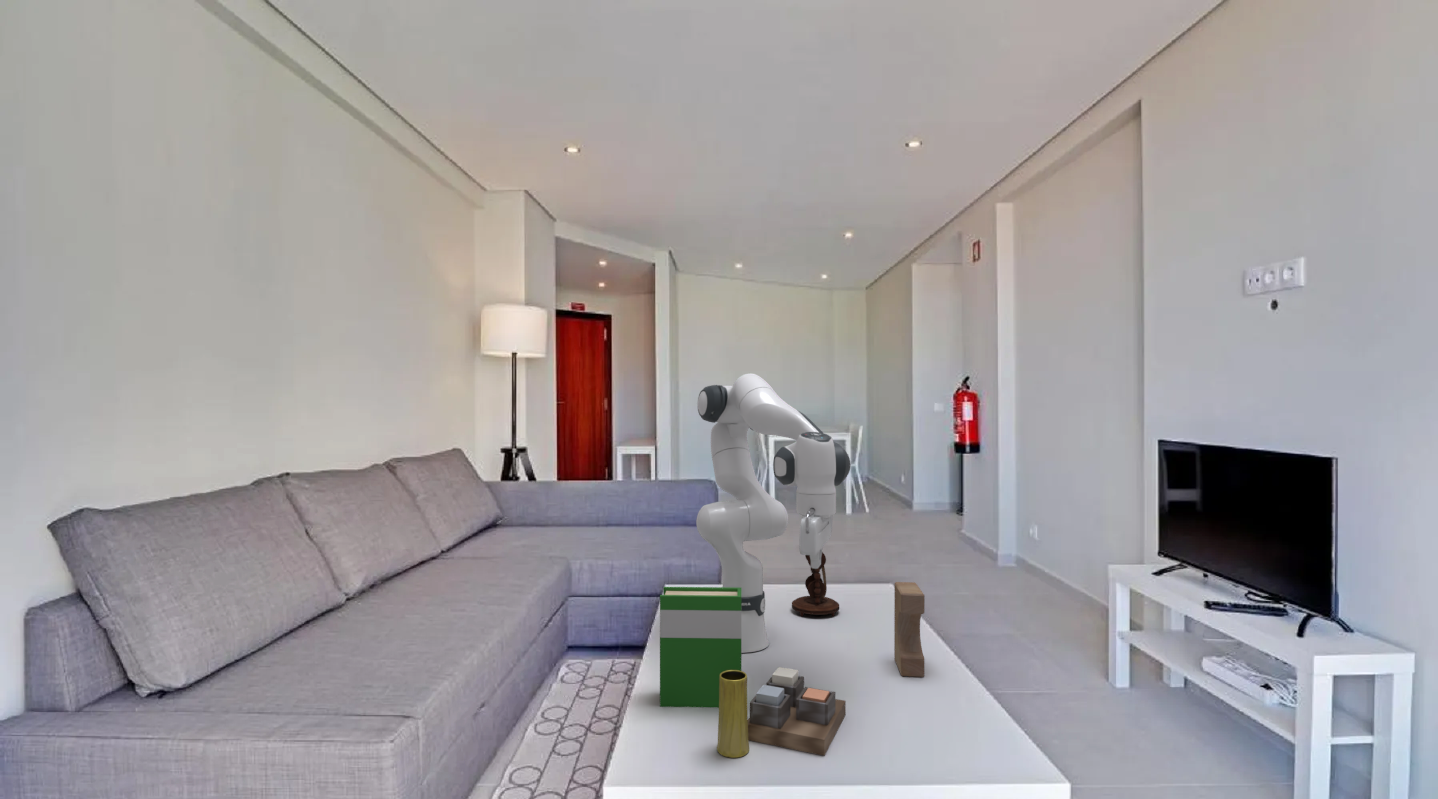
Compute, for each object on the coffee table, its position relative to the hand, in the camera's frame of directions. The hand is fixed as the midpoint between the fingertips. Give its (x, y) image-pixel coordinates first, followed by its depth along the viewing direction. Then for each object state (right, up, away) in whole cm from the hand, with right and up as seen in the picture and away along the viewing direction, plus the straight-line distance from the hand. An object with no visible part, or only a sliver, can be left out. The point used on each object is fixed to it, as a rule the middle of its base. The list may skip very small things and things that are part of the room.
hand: (815, 567), depth 154 cm
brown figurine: (+9, -29, +62) cm, 69 cm away
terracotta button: (-2, -25, -15) cm, 29 cm away
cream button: (-8, -24, -8) cm, 26 cm away
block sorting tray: (-6, -29, -14) cm, 33 cm away
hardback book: (-25, -29, -1) cm, 39 cm away
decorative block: (+25, -29, +16) cm, 42 cm away
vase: (-19, -29, -23) cm, 42 cm away
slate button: (-11, -24, -17) cm, 31 cm away
